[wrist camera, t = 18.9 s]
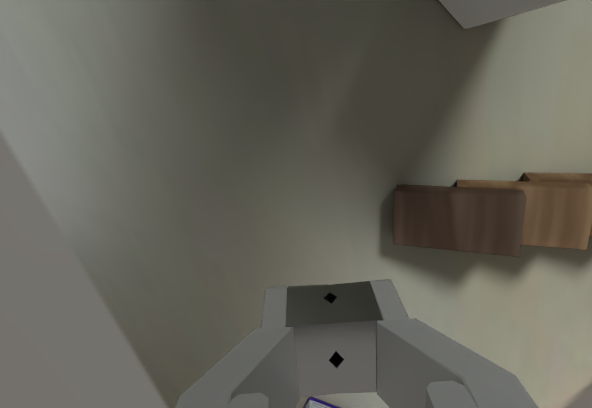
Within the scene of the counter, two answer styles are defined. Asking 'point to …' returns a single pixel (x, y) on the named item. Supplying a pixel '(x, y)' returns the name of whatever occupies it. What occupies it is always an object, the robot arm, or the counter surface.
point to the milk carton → (490, 9)
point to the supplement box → (318, 404)
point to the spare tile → (459, 218)
